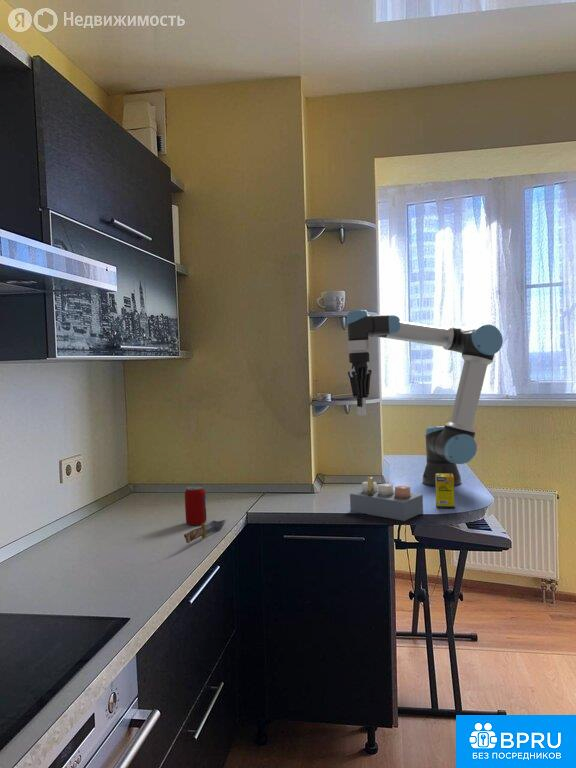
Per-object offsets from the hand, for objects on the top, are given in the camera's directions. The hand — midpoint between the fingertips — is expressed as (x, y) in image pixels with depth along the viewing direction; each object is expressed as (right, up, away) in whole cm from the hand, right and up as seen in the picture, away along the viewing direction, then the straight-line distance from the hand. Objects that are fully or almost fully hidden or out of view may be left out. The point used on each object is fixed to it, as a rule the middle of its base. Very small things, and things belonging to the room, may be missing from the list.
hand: (362, 415), depth 217 cm
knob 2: (+6, -31, -20) cm, 37 cm away
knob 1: (+1, -31, -16) cm, 35 cm away
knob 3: (+10, -31, -25) cm, 41 cm away
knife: (-52, -35, -41) cm, 75 cm away
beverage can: (-58, -34, -25) cm, 72 cm away
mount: (+6, -32, -20) cm, 38 cm away
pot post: (0, -26, -22) cm, 34 cm away
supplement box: (+27, -31, -16) cm, 44 cm away
